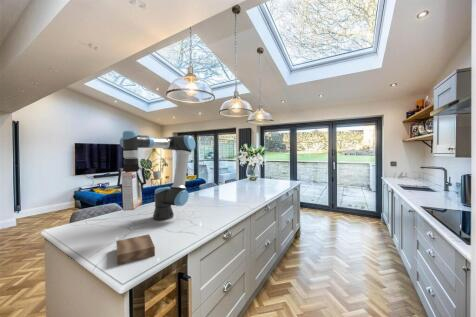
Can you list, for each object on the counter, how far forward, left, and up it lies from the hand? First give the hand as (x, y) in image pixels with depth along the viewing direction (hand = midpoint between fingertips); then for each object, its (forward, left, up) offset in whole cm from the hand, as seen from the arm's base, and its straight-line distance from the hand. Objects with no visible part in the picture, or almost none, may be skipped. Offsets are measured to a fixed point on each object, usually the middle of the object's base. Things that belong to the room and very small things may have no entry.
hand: (132, 197), depth 121 cm
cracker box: (0, 0, -6) cm, 6 cm away
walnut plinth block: (0, +18, -25) cm, 31 cm away
